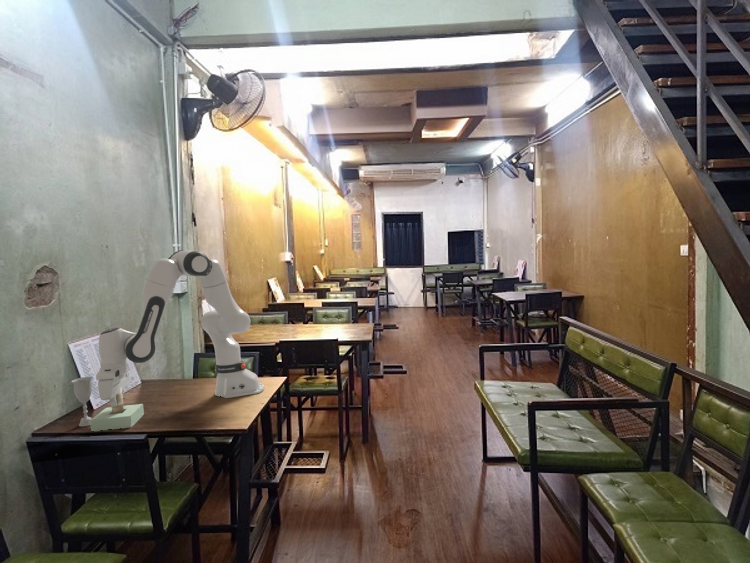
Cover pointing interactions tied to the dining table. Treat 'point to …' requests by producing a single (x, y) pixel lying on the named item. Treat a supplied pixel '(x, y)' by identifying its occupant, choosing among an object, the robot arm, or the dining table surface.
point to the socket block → (117, 418)
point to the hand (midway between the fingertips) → (117, 403)
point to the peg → (119, 407)
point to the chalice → (83, 396)
